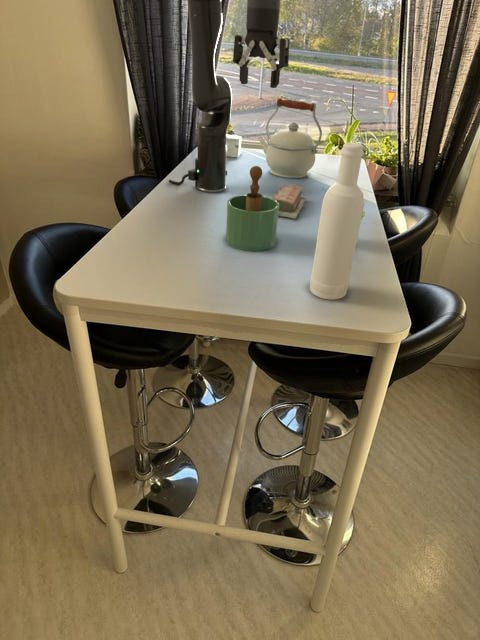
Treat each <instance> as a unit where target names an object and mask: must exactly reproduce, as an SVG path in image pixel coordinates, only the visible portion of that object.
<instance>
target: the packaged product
mask: <svg viewBox="0 0 480 640" xmlns="http://www.w3.org/2000/svg"><path fill="white" fill-rule="evenodd" d="M302 195H303V188H302V187H300V186H296V185H290V184H283V185H282V186H281V187H280V188H279V190H278V191H277V192H276V193H275V194H274V195H273V197H271V198H272V199H274V200H276V201H277V202H278V203H279V216H278V217H282V218H289V219H293V220H296V218H297V216H298V215H299V213H300V211H301V210H302V209H303V206H304V204H305V203H306V201H307V197H305V196H302Z"/></svg>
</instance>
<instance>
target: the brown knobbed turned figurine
mask: <svg viewBox="0 0 480 640" xmlns="http://www.w3.org/2000/svg"><path fill="white" fill-rule="evenodd" d="M249 175H250V179H251V184H250V186H249V187H250V192H249V193H247V194H246V195H247V196H246V211H261V205H262V196H263V195H262V194H261V193H260V192H259V191H260V188H261V186H260V185H259V181H260V179H261V178H262V176H263V169H262V168H261V166H258V165H253V166H251V168H250V169H249Z"/></svg>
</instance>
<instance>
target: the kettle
mask: <svg viewBox="0 0 480 640" xmlns="http://www.w3.org/2000/svg"><path fill="white" fill-rule="evenodd" d="M281 107H284V108H288V109H293V110H299V111H310V112H312V118H313V120H314V123H315V125H316V127H317V129H318V131H319V137H318V140H317V142H316V143H315V141H314V138H313V137H312V135H311V134H309V132H306V131H304V130H300V126H299V124H298V123H296V122H295V121H293V122H291V123H289V125H288V128H287V129H281V130H278V131H276V132H274V133H273V134H272V136H271V134H270V130H269V126H270V123H271V120H272V119H273V118H274V117H275V116H276V114H277V113H278V111H279V109H280V108H281ZM316 110H317V103H314V102H312V103H309V102H305V101H299V100H292V99H283V98H277V99H276V107H275V111H274V112H273V113H272V115H271V116H270V117H269V119H268V120H267V122H266V124H265V132H266V136H267V137H266V138H267V141H266V139H265V138H264V136H258V140H259V142H260V146H261V149H262V151H263V153H264V155H265V162H266V164H267V166H268V167H269V168H270V170H269V171H270V173H271V174H272V175H274V176H276V177H280V178H284V179H301V178H305V177H307V175H308V174H309V171H310V170H311V169H312V168H313V167H314V165H315V163H316V153H318V149H317V148H318V146H319V145H320V142H321V140H322V137H323V136H322V135H323V130H322V128H321V125H320V123H319V121H318V119H317V117H316Z"/></svg>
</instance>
